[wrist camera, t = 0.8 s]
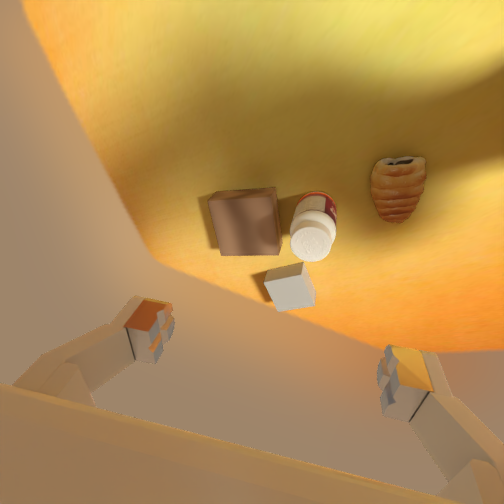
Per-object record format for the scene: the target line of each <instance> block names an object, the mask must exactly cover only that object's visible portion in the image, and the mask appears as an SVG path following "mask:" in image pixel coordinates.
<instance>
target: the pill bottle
mask: <svg viewBox="0 0 504 504" xmlns="http://www.w3.org/2000/svg"><path fill="white" fill-rule="evenodd" d="M336 215H337V209H336V204H335V202H334V200H333V199H332V198H331V197H330V196H329V195H328V194H326V193H323V192H317V191H316V192H310V193H307V194H306V195H304V196H303V197H302V198H301V199H300V200H299V202H298V204H297V207H296V210H295V213H294V216H293V220H292V223H291V227H290V236H291V240H290V246H291V250H292V251H293V253H294V254H295V255H296V256H297V257H298V258H300V259H302V260H304V261H310V262H314V261H319V260H321V259H323V258H324V257H326V256H327V255H328V253H329V252H330V249H331V244H332V243H333V242H334V240H335V237H336V219H337V218H336Z"/></svg>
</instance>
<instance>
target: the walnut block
mask: <svg viewBox="0 0 504 504" xmlns="http://www.w3.org/2000/svg"><path fill="white" fill-rule="evenodd" d="M208 205H209V209H210V213H211V217H212V221H213V225H214V229H215V233H216V237H217V241H218V245H219V249H220V253H221V256H253V255H279V253H280V249H281V246H282V235H281V227H280V219H279V211H278V203H277V195H276V187H272V188H259V189H246V190H233V191H220V192H215V194H214V195H213V196H212V197H211V198H210V199H209V200H208Z"/></svg>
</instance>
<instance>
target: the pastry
mask: <svg viewBox="0 0 504 504" xmlns="http://www.w3.org/2000/svg"><path fill="white" fill-rule="evenodd" d="M425 164H426V160H425V159H424V158H423V157H415V158H414V157H413V156H405V157H400V158H397V159H393V158H384V159H381V160H380V161H378V162H377V163H376V165H375V166H374V169H373V172H372V174H371V176H370V183H371V195H372V197H373V201H374V203H375V206H376V208H377V211H378V213H379V216H380V217H381V218H382V219H383V220H385V221H387V222H396V223H402V222H403V221H404V220H406V219H408V218H409V217H410V215H411V213H412V212H413V211H414V210H415V209H416V205H417V203H418V202H419V200H420V195H421V194H422V193H423V190H424V186H423V184H424V181H425V179H426V171H425Z"/></svg>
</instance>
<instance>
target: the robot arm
mask: <svg viewBox="0 0 504 504" xmlns="http://www.w3.org/2000/svg"><path fill="white" fill-rule="evenodd" d="M172 311H173V308H172V304H171V303H169V302H164V301H159V300H155V299H150V298H144V297H140V296H134V297H132V298H131V299H130V300H129V301H128V303H127V304H126V305H125V306H124V307H123V309H122V310H121V311H120V312H119V313H118V315H117V316H116V317H115V318H114V319H113V321H112V322H111V323H110V324H104V325H102V326H100V327H98V328H96V329H94V330H92V331H90V332H88V333H86V334H84V335H82V336H80V337H77V338H76V339H73V340H71V341H69V342H67V343H65V344H63V345H61V346H59V347H57V348H55V349H53V350H50V351H48V352H46V353H44V354H42V355H41V356H40V357H39V358H38V359H37V360H36V361H35V362H34V363H33V364H32V365H31V366H30V367H29V368H28V369H27V370H26V371H25V372H24V373H23V374H22V375H21V376H20V377H19V378H18V379H17V380H16V381H15V383H14V384H13V385H12V386H11V385H7V384H4V383H0V504H504V444H503V443H502V442H501V441H500V440H499V439H498V438H497V437H496V436H495V435H494V434H493V433H492V432H491V431H490V430H489V429H488V428H487V427H486V426H485V425H484V424H483V423H482V422H481V421H480V420H479V419H478V418H477V417H476V416H475V415H474V414H473V413H472V412H471V411H470V410H469V409H468V408H467V407H466V406H465V405H464V404H463V403H462V402H461V401H460V400H459V399H458V398H456V397H453V396H452V393H451V390H450V388H449V385H448V383H447V380H446V377H445V374H444V372H443V369H442V367H441V364H440V361H439V359H438V356H437V355H436V354H435V353H433V352H427V351H422V350H417V349H411V348H406V347H400V346H395V345H388V346H386V349H385V351H384V353H385V357H384V358H382V359H381V360H380V362H379V365H378V370H377V381H378V386H379V387H380V388H381V390H382V391H383V392H382V394H381V397H380V401H381V407H382V414H383V416H385V417H389V418H393V419H397V420H401V421H405V422H408V423H409V425H410V426H411V428H412V429H413V431H414V432H415V434H416V435H417V437H418V438H419V440H420V441H421V442H422V444H423V446H424V447H425V449H426V450H427V451H428V453H429V454H430V456H431V457H432V459H433V460H434V462H435V463H436V465H437V466H438V468H439V469H440V471H441V472H442V474H443V475H444V477H445V478H446V480H447V481H448V484H447V485H446V486H445V487H444V488H443V489H442V490H441V491H440V492H439V493H438V494H437V495H436V496H435V495H431V494H427V493H423V492H419V491H415V490H411V489H407V488H403V487H400V486H396V485H392V484H388V483H384V482H380V481H377V480H373V479H369V478H365V477H361V476H357V475H354V474H350V473H346V472H342V471H338V470H334V469H330V468H327V467H323V466H319V465H315V464H311V463H308V462H304V461H300V460H296V459H292V458H288V457H285V456H281V455H277V454H273V453H269V452H266V451H262V450H258V449H254V448H250V447H246V446H242V445H238V444H235V443H231V442H227V441H223V440H219V439H215V438H212V437H207V436H204V435H200V434H196V433H192V432H188V431H185V430H181V429H177V428H173V427H169V426H165V425H162V424H158V423H154V422H150V421H145V420H142V419H138V418H135V417H131V416H126V415H123V414H119V413H115V412H111V411H108V410H104V409H100V408H96V404H95V402H94V400H93V397H92V395H91V393H92V392H94V391H95V390H96V389H98V388H99V387H100V386H102V385H103V384H105V383H106V382H107V381H109V380H110V379H112V378H113V377H114V376H116V375H117V374H118V373H120V372H121V371H122V370H124V369H125V368H127V367H128V366H129V365H131V364H132V363H133V362H135V360H137V361H142V362H146V363H152V364H156V363H157V361H158V359H159V357H160V356H161V354H162V352H163V344H165V343H166V342H168V341H169V340H170V338H171V336H172V333H173V330H174V324H175V322H174V317H173V316H172V315H171V312H172Z"/></svg>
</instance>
